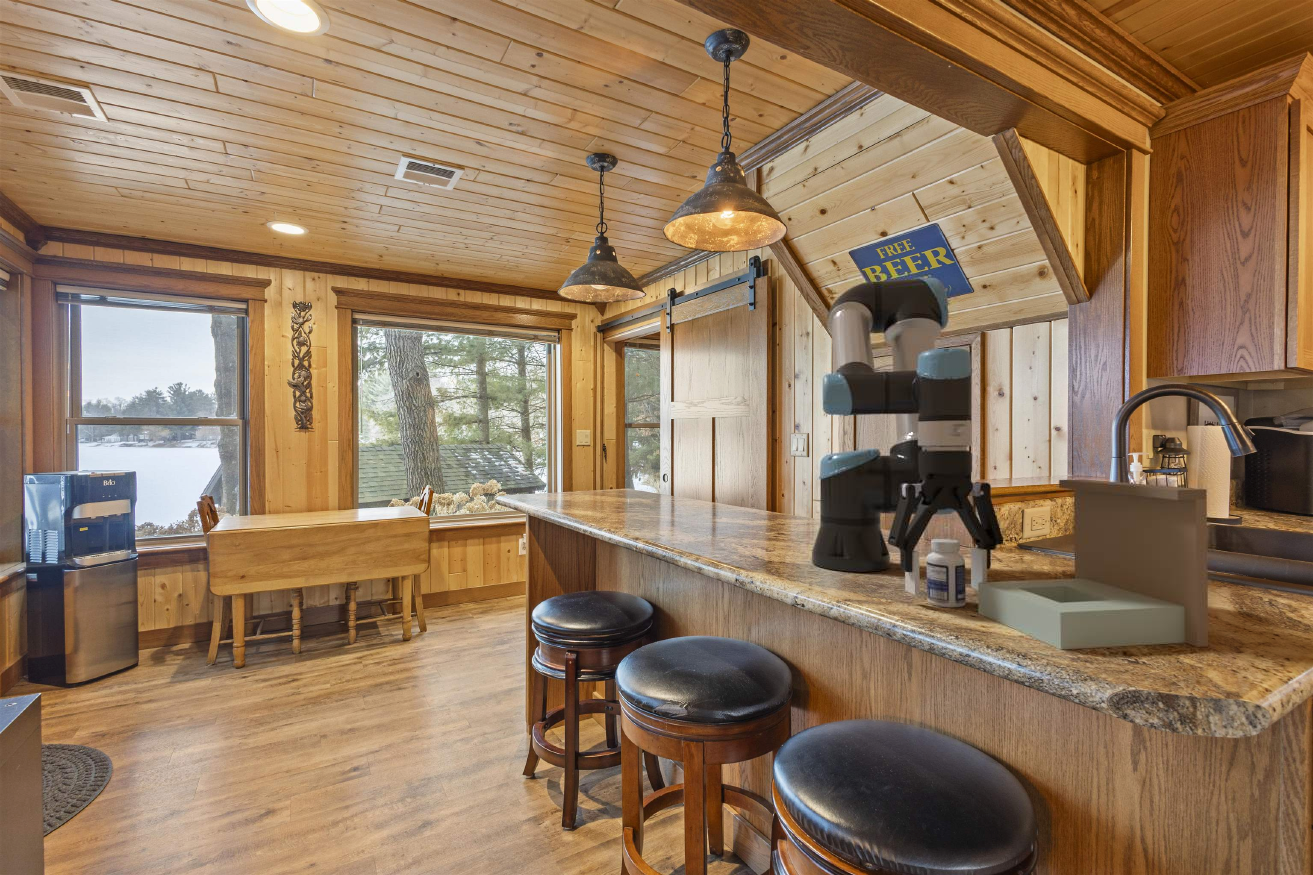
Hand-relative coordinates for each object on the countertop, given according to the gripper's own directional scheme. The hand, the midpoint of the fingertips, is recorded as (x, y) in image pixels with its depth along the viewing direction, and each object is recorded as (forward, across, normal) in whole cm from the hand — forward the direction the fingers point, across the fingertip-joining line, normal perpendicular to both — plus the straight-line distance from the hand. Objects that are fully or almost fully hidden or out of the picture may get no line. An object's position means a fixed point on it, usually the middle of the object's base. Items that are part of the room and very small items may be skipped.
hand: (945, 591), depth 91 cm
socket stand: (+2, +11, -13) cm, 17 cm away
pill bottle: (+2, 0, 0) cm, 2 cm away
